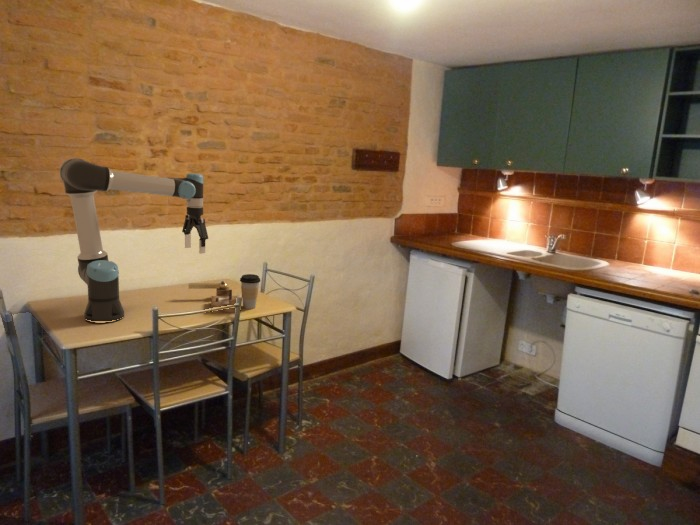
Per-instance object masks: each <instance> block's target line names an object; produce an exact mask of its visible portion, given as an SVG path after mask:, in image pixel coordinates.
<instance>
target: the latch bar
mask: <svg viewBox="0 0 700 525" xmlns="http://www.w3.org/2000/svg"><path fill="white" fill-rule="evenodd" d="M227 287H228V283H227V282H226V281H224V280H221V281H220V282H214V283H213V282H207V283H206V282H195V283H193V282H191V283H190V282H188V290H189V289H191V290H192V289H193V290H195V289H199V290H200V289H206V290H207V289H212V290H213V289H214V290H215V289H217V288H220V289H226V288H227Z"/></svg>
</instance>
